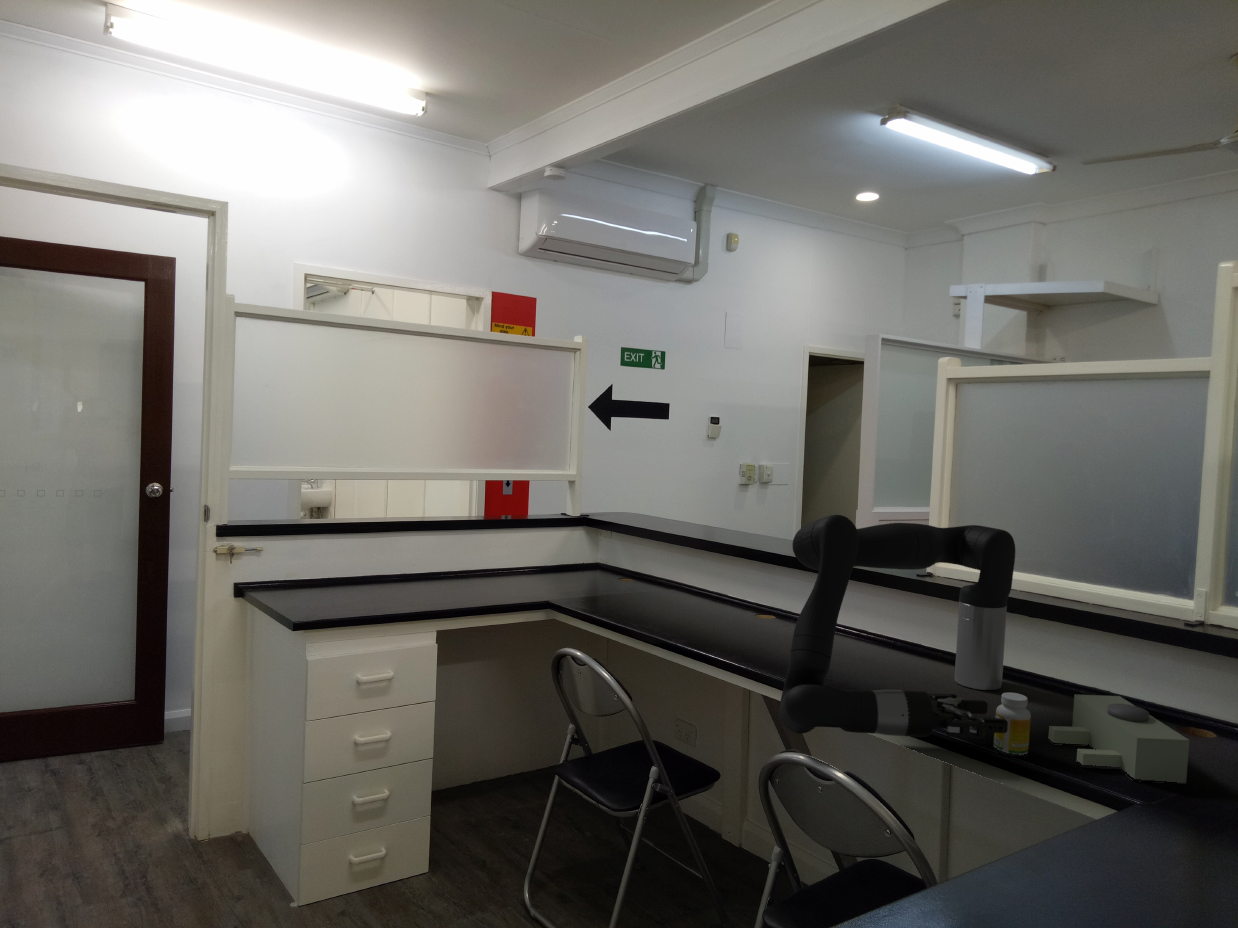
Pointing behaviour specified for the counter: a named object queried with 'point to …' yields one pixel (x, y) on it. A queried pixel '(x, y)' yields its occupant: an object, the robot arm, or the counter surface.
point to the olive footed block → (1124, 739)
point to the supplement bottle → (1013, 724)
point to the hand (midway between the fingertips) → (996, 716)
